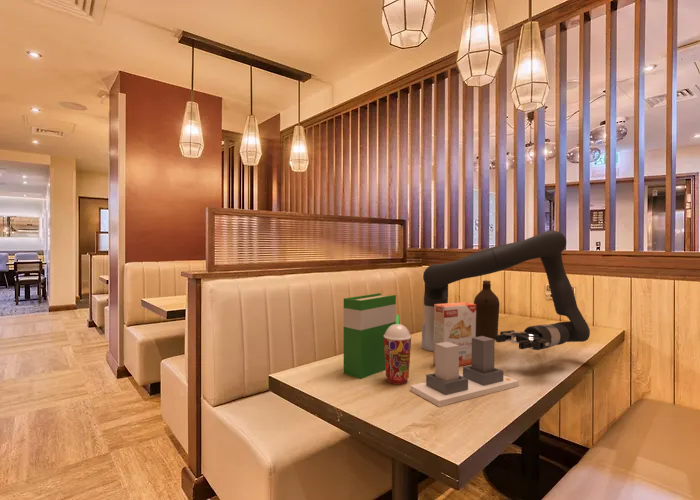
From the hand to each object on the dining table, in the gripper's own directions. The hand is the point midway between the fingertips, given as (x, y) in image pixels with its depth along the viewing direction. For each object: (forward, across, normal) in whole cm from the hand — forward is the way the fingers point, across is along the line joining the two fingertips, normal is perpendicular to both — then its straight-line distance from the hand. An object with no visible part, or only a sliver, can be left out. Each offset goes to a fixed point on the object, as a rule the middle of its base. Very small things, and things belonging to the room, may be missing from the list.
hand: (508, 342), depth 118 cm
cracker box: (+5, -18, +12) cm, 22 cm away
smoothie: (+32, -14, +12) cm, 36 cm away
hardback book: (+33, -26, +12) cm, 44 cm away
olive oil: (-34, -39, +11) cm, 52 cm away
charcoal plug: (+11, 0, +10) cm, 15 cm away
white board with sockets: (+18, 0, +11) cm, 21 cm away
